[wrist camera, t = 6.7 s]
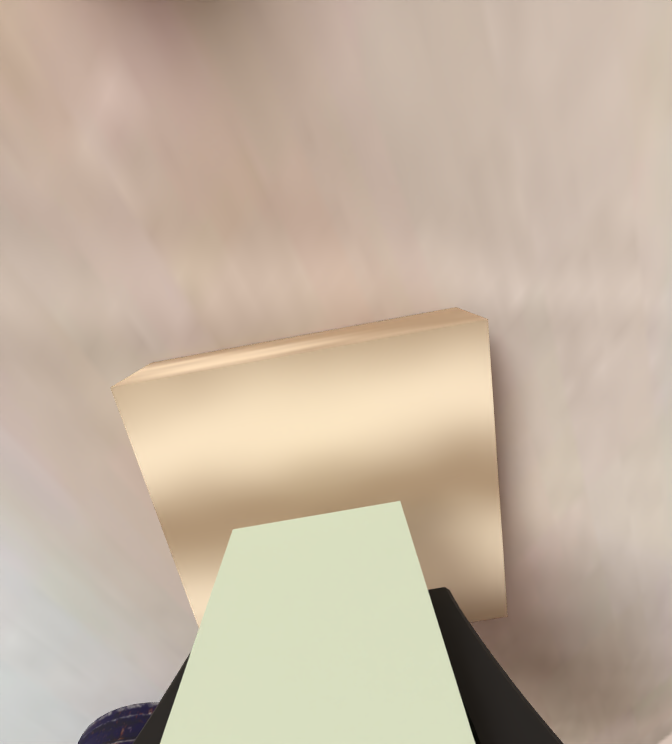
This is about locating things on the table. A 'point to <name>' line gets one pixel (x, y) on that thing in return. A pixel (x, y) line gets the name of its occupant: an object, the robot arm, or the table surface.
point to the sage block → (320, 641)
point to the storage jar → (118, 725)
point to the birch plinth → (329, 445)
